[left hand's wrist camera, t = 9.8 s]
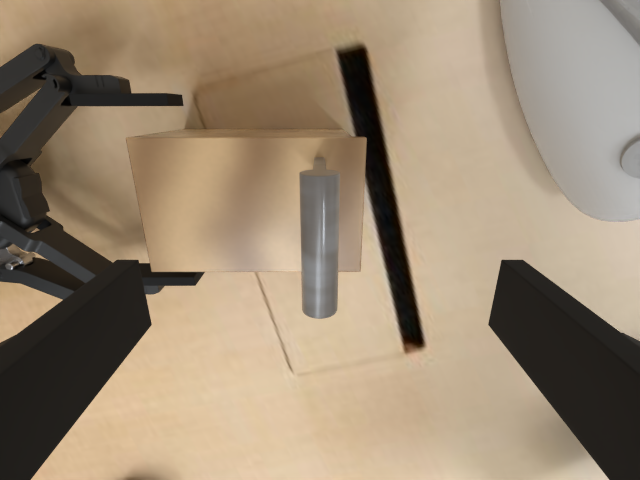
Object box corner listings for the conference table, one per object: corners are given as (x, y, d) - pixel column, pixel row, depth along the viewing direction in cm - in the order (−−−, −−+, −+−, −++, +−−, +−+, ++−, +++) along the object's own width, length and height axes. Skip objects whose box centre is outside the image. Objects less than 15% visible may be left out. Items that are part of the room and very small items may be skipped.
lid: (365, 136, 22) (389, 151, 15) (359, 266, 26) (376, 335, 18) (132, 136, 22) (31, 151, 15) (156, 266, 26) (85, 336, 18)
